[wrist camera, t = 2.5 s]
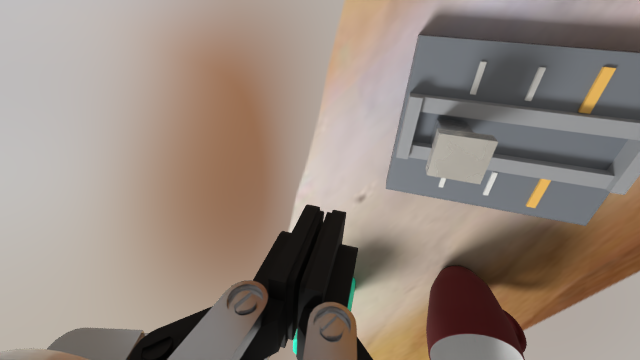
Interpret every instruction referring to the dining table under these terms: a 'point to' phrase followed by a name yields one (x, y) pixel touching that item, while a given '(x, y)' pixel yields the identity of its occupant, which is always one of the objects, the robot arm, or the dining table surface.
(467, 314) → the mug
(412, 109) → the console
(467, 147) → the fader tab
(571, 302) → the dining table surface
